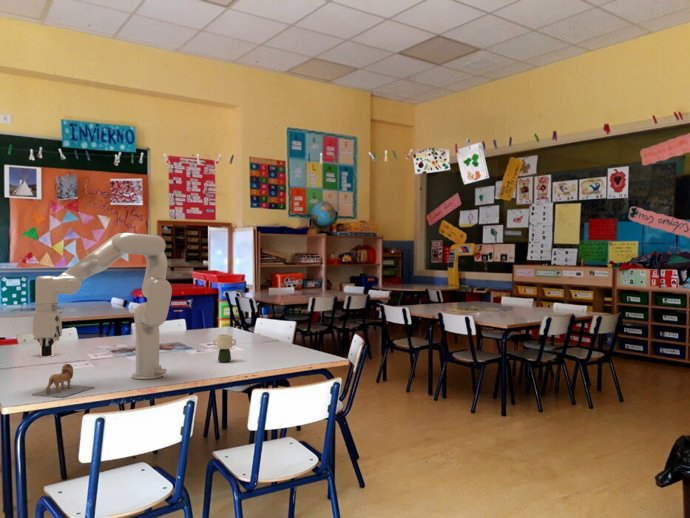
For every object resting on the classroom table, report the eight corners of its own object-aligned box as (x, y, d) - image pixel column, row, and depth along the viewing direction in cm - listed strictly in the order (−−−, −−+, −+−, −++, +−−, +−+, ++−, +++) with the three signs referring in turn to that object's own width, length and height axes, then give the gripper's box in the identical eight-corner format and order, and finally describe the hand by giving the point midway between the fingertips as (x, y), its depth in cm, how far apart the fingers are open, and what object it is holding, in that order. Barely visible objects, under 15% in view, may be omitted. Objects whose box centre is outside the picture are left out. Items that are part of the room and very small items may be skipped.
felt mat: (94, 387, 220) (94, 386, 220) (63, 397, 204) (63, 396, 204) (64, 385, 223) (64, 384, 223) (32, 395, 208) (32, 394, 208)
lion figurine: (63, 385, 221) (63, 362, 221) (76, 385, 221) (76, 362, 221) (42, 395, 207) (42, 370, 206) (56, 395, 206) (56, 370, 206)
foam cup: (48, 358, 279) (48, 332, 279) (32, 357, 281) (32, 331, 281) (61, 354, 289) (61, 329, 288) (46, 354, 290) (46, 328, 290)
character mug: (236, 360, 277) (237, 334, 277) (234, 363, 270) (234, 336, 270) (214, 360, 277) (214, 334, 276) (211, 363, 269) (212, 336, 269)
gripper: (70, 307, 217) (70, 355, 217) (38, 306, 221) (38, 353, 221) (55, 309, 210) (55, 358, 210) (22, 308, 214) (22, 356, 214)
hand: (46, 355), depth 216 cm, fingers closed
